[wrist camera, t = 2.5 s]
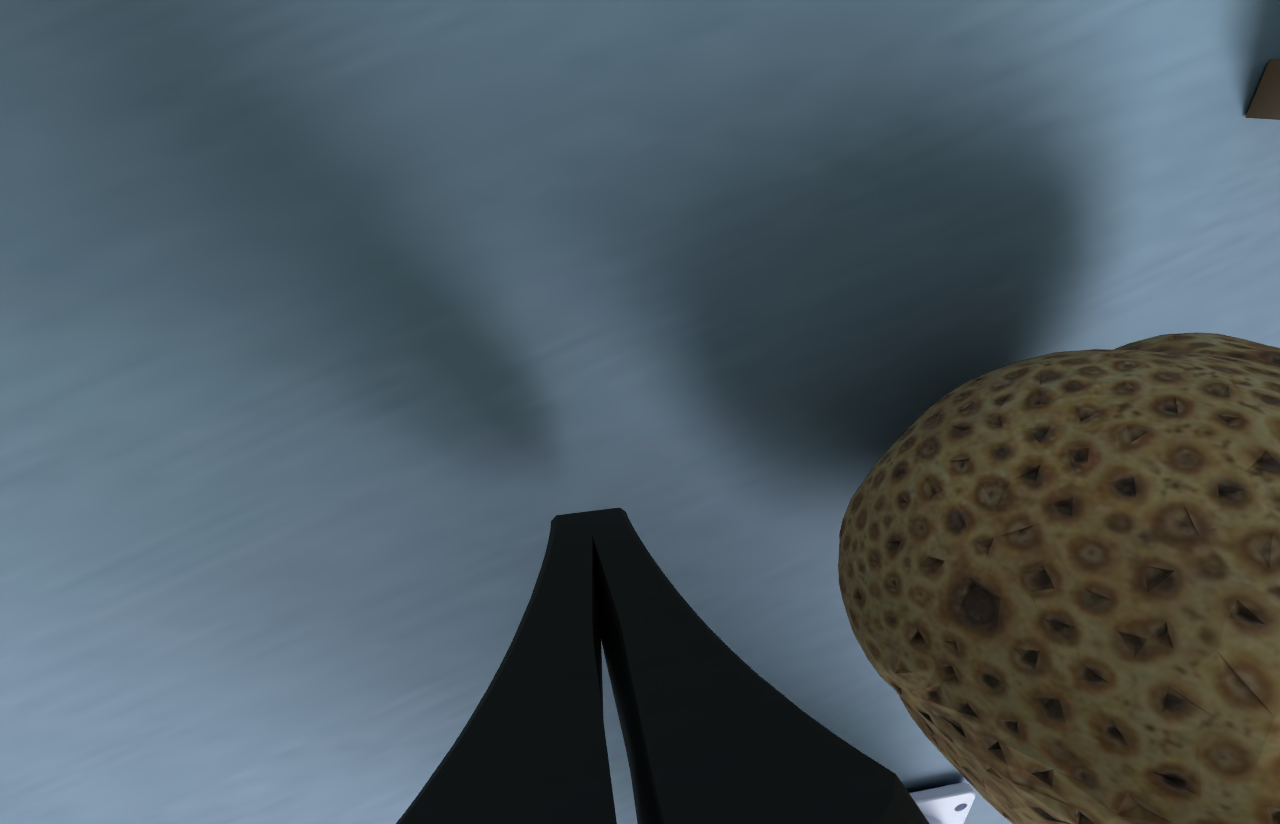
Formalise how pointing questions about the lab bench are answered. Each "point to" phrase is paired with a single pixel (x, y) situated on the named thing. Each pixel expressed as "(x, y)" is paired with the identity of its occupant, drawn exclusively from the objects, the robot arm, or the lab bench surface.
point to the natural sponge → (1087, 582)
